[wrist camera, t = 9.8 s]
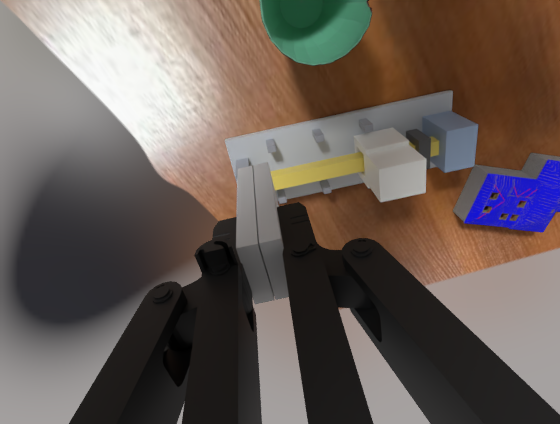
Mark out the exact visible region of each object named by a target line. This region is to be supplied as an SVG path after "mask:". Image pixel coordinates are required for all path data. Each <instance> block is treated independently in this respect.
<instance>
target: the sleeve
mask: <svg viewBox="0 0 560 424" xmlns="http://www.w3.org/2000/svg"><path fill="white" fill-rule="evenodd" d="M354 148H355V153H357V152H362V154H363V155H364V168H365V171H362V172H358V174H359V176H360V177H361V179H362V180H363V182H364V183H365V185H366V186H367V187H368V189H369V188H371V190H372V191H373V193H374V194H375V195H376V197H377V198H378V200H379V201H380V202H385V201H390V200H394V199H399V198H404V197H408V196H413V195H418V194H422V193H426V160H427V159H426V158H425V157H423V156H422V155H421V154H420V153H419V152H417V151H416V150H415V149H414V148H413V147H411V146H410V145H409V140H408V139H407V138H405V137H404V136H403V135H402V134H400V133H399V132H398V131H397V130H395V129H394V128H393V127H392V128H388V129H383V130H379V131H374V132H369V133H365V134H360V135H356V136H354Z"/></svg>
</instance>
